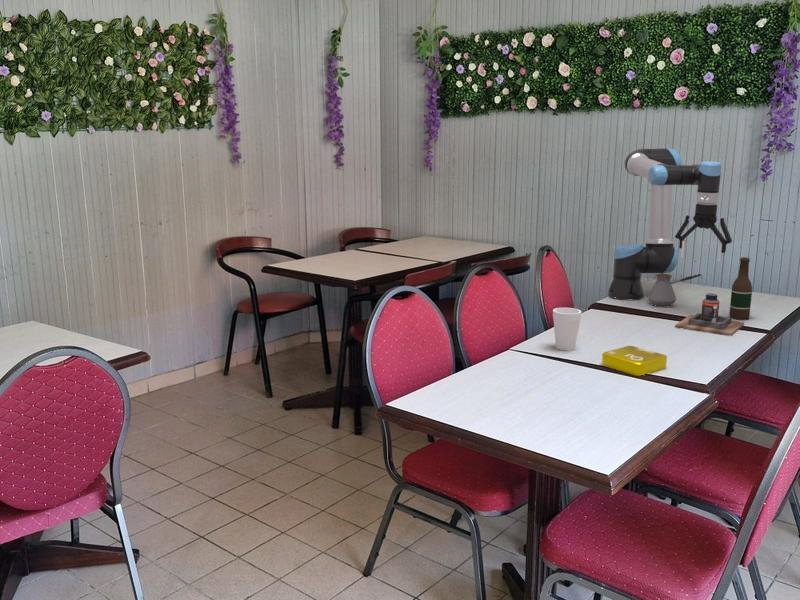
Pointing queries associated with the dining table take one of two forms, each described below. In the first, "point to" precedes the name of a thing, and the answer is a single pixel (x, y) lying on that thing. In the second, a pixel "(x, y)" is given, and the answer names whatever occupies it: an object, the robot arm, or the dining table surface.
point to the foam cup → (566, 327)
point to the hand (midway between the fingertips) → (701, 259)
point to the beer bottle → (741, 293)
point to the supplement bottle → (710, 308)
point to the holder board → (710, 325)
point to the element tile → (634, 360)
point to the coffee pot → (665, 290)
